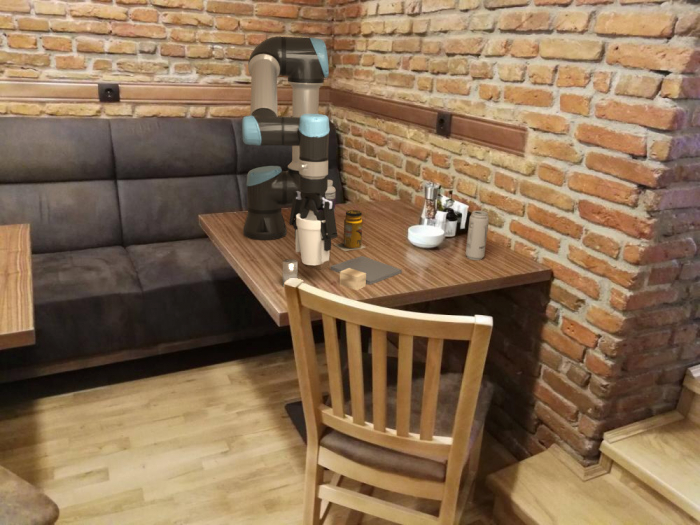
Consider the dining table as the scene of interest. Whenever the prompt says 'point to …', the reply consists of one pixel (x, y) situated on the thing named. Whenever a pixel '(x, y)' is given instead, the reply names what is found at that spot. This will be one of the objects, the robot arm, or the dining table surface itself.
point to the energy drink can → (477, 235)
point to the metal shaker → (290, 269)
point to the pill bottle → (330, 193)
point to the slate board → (368, 268)
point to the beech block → (352, 279)
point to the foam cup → (309, 238)
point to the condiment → (352, 231)
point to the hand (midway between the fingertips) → (312, 255)
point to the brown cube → (321, 265)
